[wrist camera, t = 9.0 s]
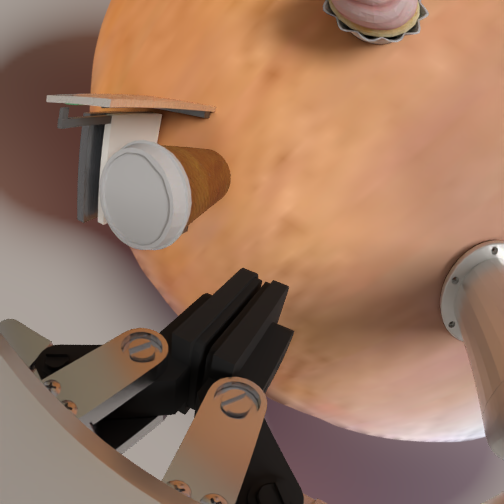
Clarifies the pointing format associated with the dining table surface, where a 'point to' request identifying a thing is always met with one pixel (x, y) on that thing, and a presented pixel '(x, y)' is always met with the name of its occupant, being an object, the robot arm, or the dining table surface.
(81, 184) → the gauge frame
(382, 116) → the dining table surface
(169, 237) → the disposable coffee cup
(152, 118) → the pale grey flat panel
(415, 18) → the cupcake
